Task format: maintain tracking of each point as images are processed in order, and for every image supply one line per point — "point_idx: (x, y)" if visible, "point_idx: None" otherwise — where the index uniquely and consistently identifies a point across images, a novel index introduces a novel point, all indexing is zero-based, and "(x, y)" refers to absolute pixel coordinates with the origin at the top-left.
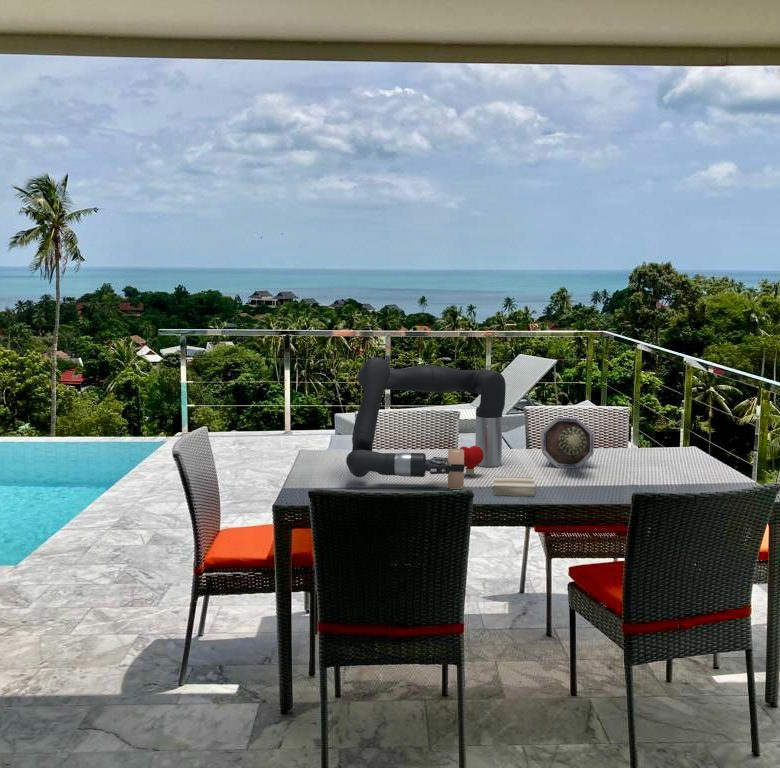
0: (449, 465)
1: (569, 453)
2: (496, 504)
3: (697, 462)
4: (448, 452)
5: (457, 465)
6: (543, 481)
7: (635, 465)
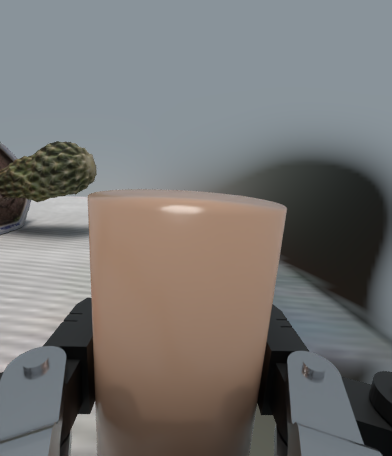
0: (337, 379)
1: (76, 192)
2: (367, 322)
3: (57, 198)
4: (242, 245)
5: (273, 321)
6: None
7: (43, 209)
